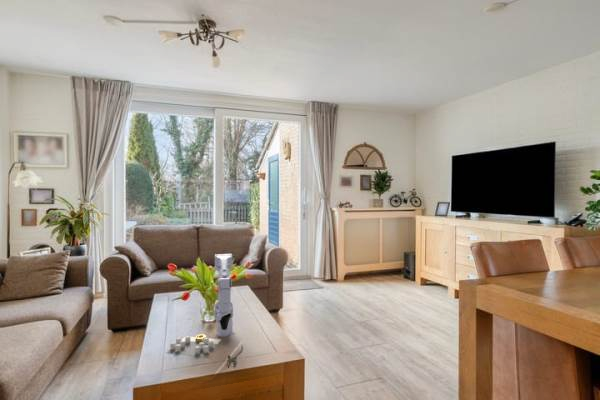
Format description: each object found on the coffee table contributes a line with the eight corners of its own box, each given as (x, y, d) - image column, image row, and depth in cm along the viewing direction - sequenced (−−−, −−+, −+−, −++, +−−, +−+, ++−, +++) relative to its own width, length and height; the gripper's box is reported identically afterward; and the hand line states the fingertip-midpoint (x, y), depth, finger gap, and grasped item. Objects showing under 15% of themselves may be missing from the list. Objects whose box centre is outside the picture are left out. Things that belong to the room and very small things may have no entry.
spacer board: (185, 338, 170) (185, 330, 170) (221, 341, 166) (221, 333, 166) (165, 355, 152) (165, 346, 152) (205, 359, 149) (205, 350, 149)
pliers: (241, 343, 164) (249, 363, 145) (241, 345, 164) (249, 365, 145) (222, 346, 160) (227, 367, 142) (222, 348, 160) (227, 369, 142)
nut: (193, 342, 163) (193, 338, 163) (197, 337, 168) (197, 333, 168) (203, 343, 162) (203, 339, 162) (208, 338, 167) (208, 334, 167)
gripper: (222, 296, 167) (222, 322, 168) (210, 306, 153) (210, 334, 153) (235, 297, 166) (235, 323, 166) (224, 307, 152) (224, 336, 152)
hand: (224, 329), depth 160 cm, fingers closed
